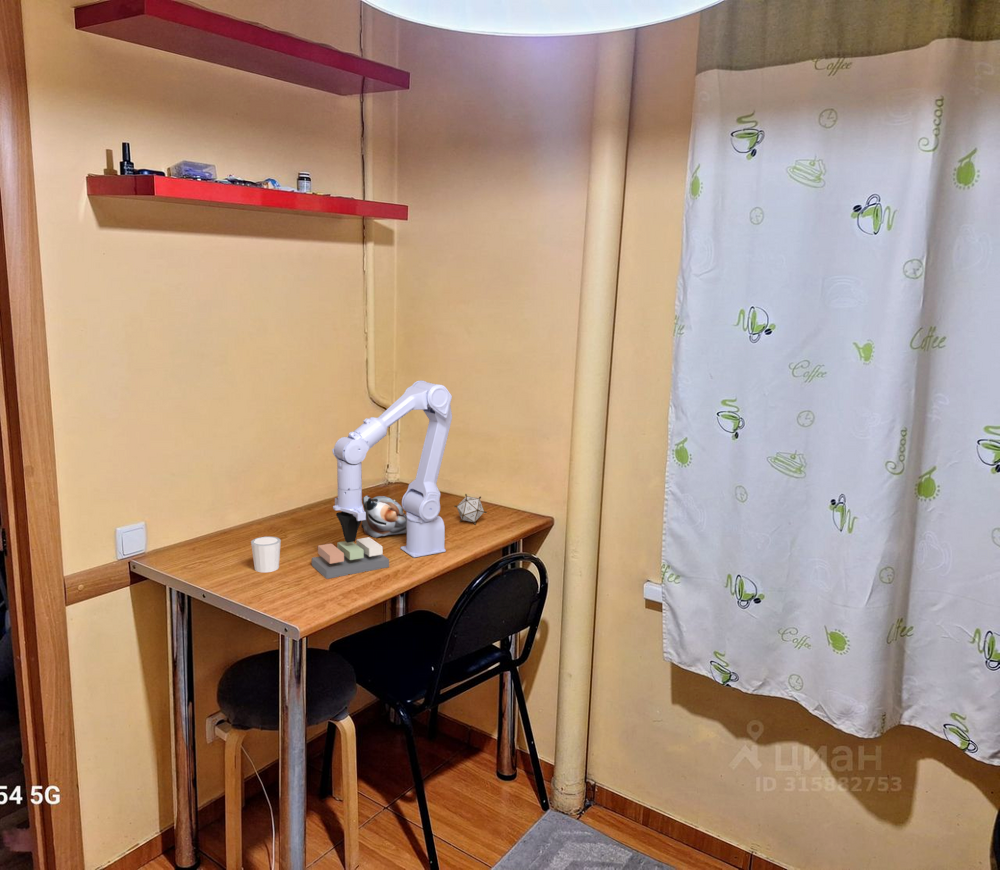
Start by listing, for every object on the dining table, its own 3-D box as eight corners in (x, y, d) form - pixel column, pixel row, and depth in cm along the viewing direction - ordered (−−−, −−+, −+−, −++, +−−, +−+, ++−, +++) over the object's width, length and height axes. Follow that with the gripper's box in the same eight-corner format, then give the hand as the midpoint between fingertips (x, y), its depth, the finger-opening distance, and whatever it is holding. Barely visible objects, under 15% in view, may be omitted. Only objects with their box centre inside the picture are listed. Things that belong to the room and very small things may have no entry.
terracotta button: (331, 551, 195) (331, 543, 195) (344, 561, 189) (343, 553, 188) (317, 553, 193) (317, 545, 193) (330, 563, 187) (329, 555, 186)
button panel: (372, 554, 203) (372, 547, 202) (389, 567, 194) (389, 559, 194) (311, 565, 194) (311, 557, 194) (326, 578, 186) (326, 570, 185)
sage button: (350, 547, 198) (350, 540, 197) (363, 557, 191) (363, 549, 191) (337, 550, 196) (337, 542, 196) (349, 560, 189) (349, 552, 189)
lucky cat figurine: (420, 529, 223) (421, 494, 214) (395, 556, 215) (395, 521, 206) (377, 507, 228) (377, 472, 219) (351, 532, 220) (349, 497, 211)
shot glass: (264, 575, 187) (263, 547, 185) (245, 568, 191) (244, 541, 189) (287, 567, 192) (286, 540, 191) (268, 561, 196) (268, 534, 195)
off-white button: (369, 544, 201) (369, 537, 200) (382, 554, 194) (382, 546, 194) (356, 546, 199) (356, 539, 198) (369, 556, 192) (369, 548, 192)
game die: (464, 533, 233) (454, 501, 237) (491, 523, 233) (481, 492, 236) (458, 526, 225) (448, 494, 228) (487, 517, 225) (476, 484, 228)
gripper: (322, 482, 194) (323, 535, 197) (345, 496, 182) (346, 552, 185) (349, 478, 198) (350, 530, 201) (373, 492, 186) (374, 548, 189)
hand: (350, 541), depth 193 cm, fingers closed
